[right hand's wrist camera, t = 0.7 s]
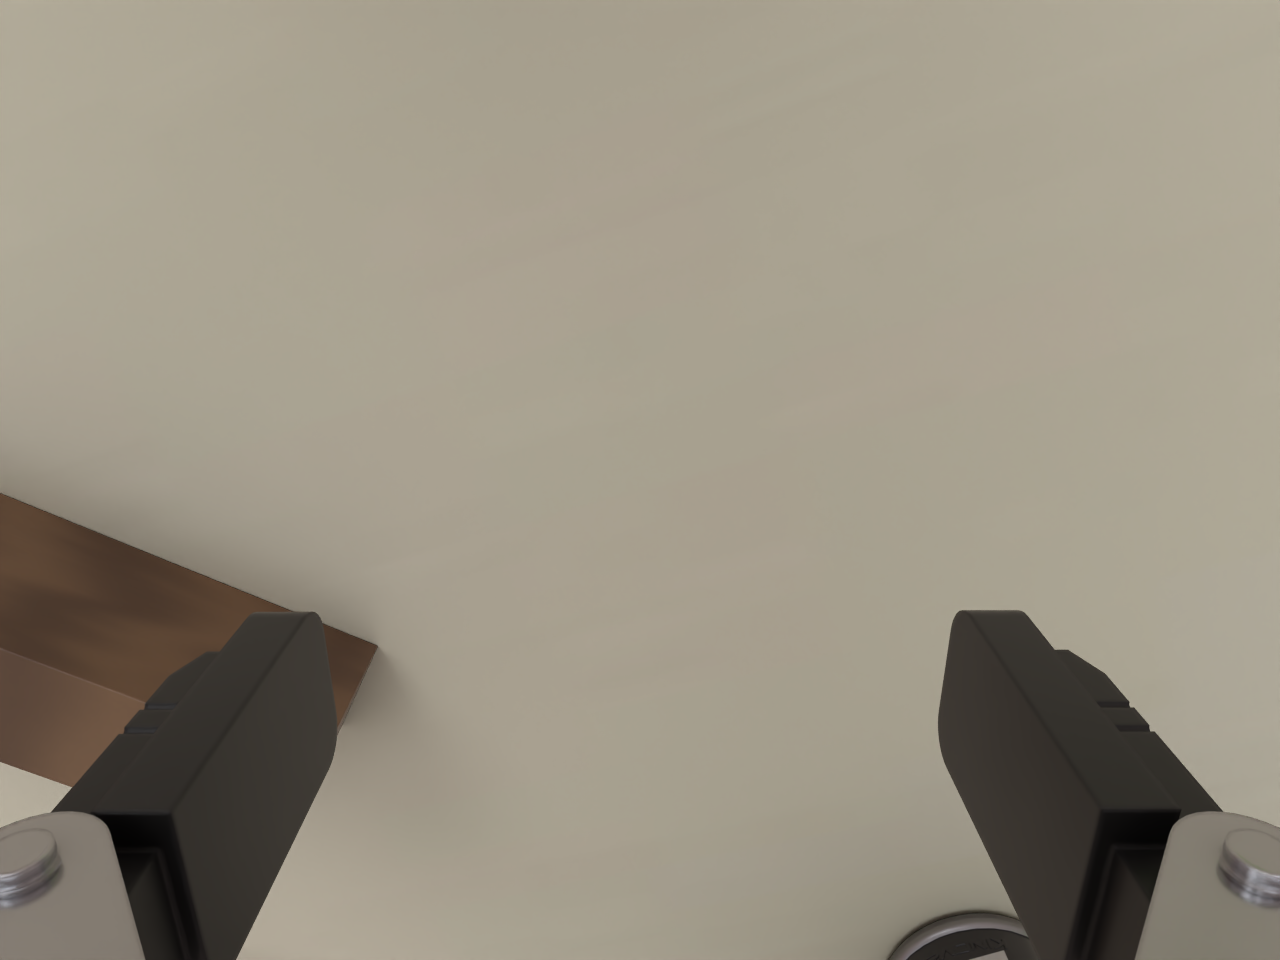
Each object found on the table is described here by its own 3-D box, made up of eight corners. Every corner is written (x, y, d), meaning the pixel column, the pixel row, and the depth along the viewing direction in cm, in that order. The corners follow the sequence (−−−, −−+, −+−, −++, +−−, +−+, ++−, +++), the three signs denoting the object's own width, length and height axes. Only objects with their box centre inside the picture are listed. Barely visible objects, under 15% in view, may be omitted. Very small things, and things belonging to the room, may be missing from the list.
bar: (378, 645, 42) (318, 767, 34) (341, 726, 43) (276, 860, 35) (-120, 444, 38) (-318, 528, 30) (-139, 541, 39) (-331, 645, 32)
